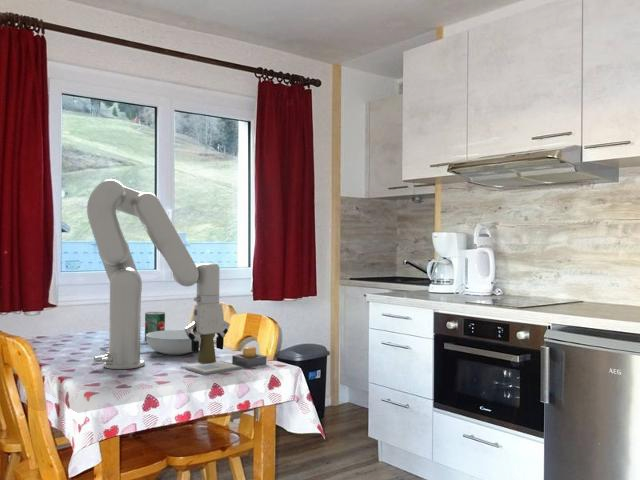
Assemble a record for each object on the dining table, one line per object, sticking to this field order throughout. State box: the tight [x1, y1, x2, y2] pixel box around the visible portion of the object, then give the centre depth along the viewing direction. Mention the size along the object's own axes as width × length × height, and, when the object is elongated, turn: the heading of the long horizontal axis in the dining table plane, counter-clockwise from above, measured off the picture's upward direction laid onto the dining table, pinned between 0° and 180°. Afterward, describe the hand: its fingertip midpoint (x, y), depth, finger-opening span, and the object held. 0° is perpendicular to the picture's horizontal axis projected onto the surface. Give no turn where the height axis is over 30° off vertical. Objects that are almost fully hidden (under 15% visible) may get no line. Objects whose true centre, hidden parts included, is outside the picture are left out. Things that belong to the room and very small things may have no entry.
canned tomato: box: [144, 311, 166, 342], centre depth 240 cm, size 8×8×11 cm
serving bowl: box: [146, 329, 201, 356], centre depth 213 cm, size 21×21×7 cm
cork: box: [197, 333, 217, 364], centre depth 199 cm, size 6×6×11 cm
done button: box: [242, 346, 257, 358], centre depth 195 cm, size 4×4×3 cm
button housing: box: [231, 353, 267, 369], centre depth 195 cm, size 8×8×3 cm
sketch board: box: [185, 361, 243, 376], centre depth 187 cm, size 14×11×1 cm
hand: (207, 350), depth 199 cm, fingers open, 9 cm apart
